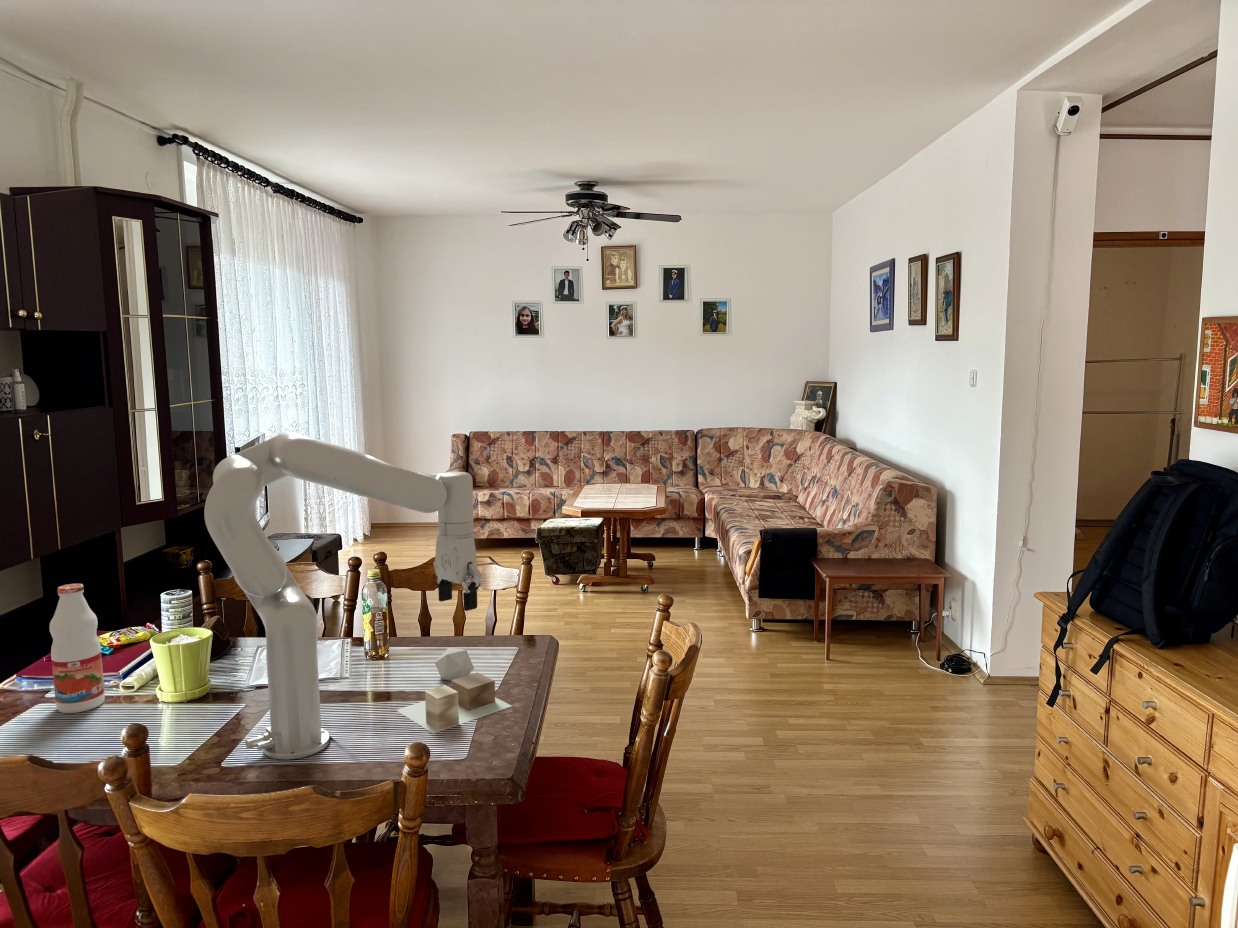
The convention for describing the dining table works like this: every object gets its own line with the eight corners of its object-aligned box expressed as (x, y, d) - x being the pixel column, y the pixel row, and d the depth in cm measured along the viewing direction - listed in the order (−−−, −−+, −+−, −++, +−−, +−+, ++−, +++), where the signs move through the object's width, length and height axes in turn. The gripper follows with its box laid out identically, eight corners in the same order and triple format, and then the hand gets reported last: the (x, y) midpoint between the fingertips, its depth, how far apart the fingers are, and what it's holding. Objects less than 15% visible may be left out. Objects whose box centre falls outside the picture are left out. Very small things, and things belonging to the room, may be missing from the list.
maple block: (438, 730, 173) (437, 698, 172) (426, 722, 177) (425, 691, 176) (459, 723, 176) (458, 691, 175) (446, 715, 180) (445, 685, 179)
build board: (433, 737, 172) (433, 733, 172) (396, 714, 183) (395, 709, 183) (512, 710, 185) (512, 705, 185) (472, 689, 197) (472, 685, 197)
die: (480, 680, 205) (468, 643, 208) (471, 675, 197) (459, 637, 200) (449, 692, 204) (438, 656, 208) (439, 688, 196) (427, 650, 200)
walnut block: (468, 710, 183) (468, 688, 182) (451, 701, 188) (451, 680, 187) (495, 701, 187) (494, 680, 187) (478, 692, 192) (477, 672, 192)
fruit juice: (109, 694, 195) (99, 578, 191) (99, 710, 186) (89, 589, 183) (62, 700, 192) (52, 582, 188) (50, 716, 183) (39, 593, 179)
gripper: (419, 525, 184) (421, 600, 186) (464, 536, 172) (465, 616, 174) (448, 520, 189) (450, 593, 191) (493, 531, 177) (495, 609, 179)
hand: (457, 604), depth 183 cm, fingers open, 9 cm apart
